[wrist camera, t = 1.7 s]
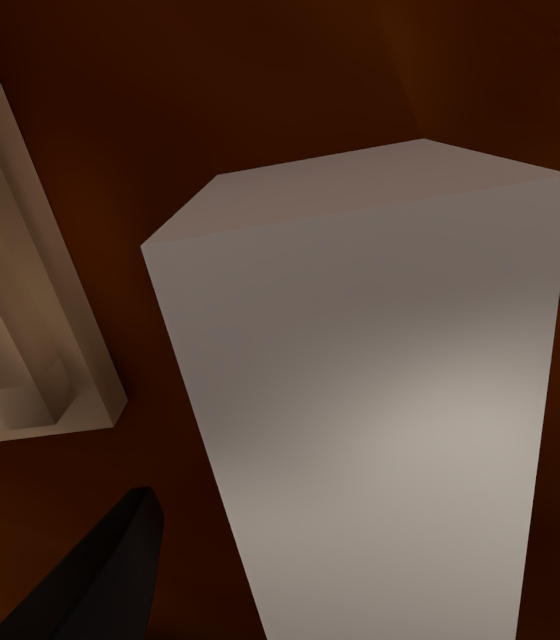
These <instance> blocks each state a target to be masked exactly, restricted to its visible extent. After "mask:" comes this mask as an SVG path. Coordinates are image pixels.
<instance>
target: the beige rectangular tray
mask: <svg viewBox="0 0 560 640" xmlns="http://www.w3.org/2000/svg"><path fill="white" fill-rule="evenodd" d="M127 402H128V399H127V396H126V394H125V391H124V389H123V386H122V384H121V382H120V379H119V377H118V374H117V372H116V369H115V367H114V364H113V362H112V359H111V357H110V354H109V352H108V349H107V347H106V344H105V342H104V339H103V337H102V334H101V332H100V329H99V327H98V324H97V322H96V319H95V317H94V314H93V312H92V309H91V307H90V304H89V302H88V299H87V297H86V294H85V292H84V289H83V287H82V284H81V282H80V279H79V277H78V275H77V272H76V270H75V267H74V265H73V262H72V260H71V257H70V255H69V252H68V250H67V247H66V245H65V242H64V240H63V237H62V235H61V232H60V230H59V227H58V225H57V222H56V220H55V217H54V215H53V212H52V210H51V207H50V205H49V202H48V200H47V197H46V195H45V192H44V190H43V187H42V185H41V182H40V180H39V177H38V175H37V172H36V170H35V168H34V165H33V163H32V160H31V158H30V155H29V153H28V150H27V148H26V145H25V143H24V140H23V138H22V135H21V133H20V130H19V128H18V125H17V123H16V120H15V118H14V115H13V113H12V110H11V108H10V105H9V103H8V100H7V98H6V95H5V93H4V90H3V88H2V85H1V83H0V441H6V440H14V439H22V438H30V437H38V436H46V435H54V434H62V433H71V432H79V431H87V430H95V429H103V428H111V427H114V426H115V424H116V422H117V420H118V419H119V417H120V415H121V413H122V411H123V409H124V408H125V406H126V404H127Z"/></svg>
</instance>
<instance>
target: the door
mask: <svg viewBox="0 0 560 640" xmlns="http://www.w3.org/2000/svg"><path fill="white" fill-rule="evenodd" d="M140 247H141V250H142V253H143V256H144V259H145V263H146V266H147V269H148V272H149V275H150V278H151V281H152V284H153V287H154V290H155V294H156V297H157V300H158V303H159V306H160V309H161V312H162V315H163V318H164V321H165V325H166V328H167V331H168V334H169V337H170V340H171V343H172V346H173V349H174V352H175V356H176V359H177V362H178V365H179V368H180V371H181V374H182V377H183V380H184V383H185V386H186V390H187V393H188V396H189V399H190V402H191V405H192V408H193V411H194V414H195V417H196V421H197V424H198V427H199V430H200V433H201V436H202V439H203V442H204V445H205V448H206V452H207V455H208V458H209V461H210V464H211V467H212V470H213V473H214V476H215V479H216V483H217V486H218V489H219V492H220V495H221V498H222V501H223V504H224V507H225V510H226V514H227V517H228V520H229V523H230V526H231V529H232V532H233V535H234V538H235V541H236V545H237V548H238V551H239V554H240V557H241V560H242V563H243V566H244V569H245V572H246V576H247V579H248V582H249V585H250V588H251V591H252V594H253V597H254V600H255V603H256V607H257V610H258V613H259V616H260V619H261V622H262V625H263V628H264V631H265V634H266V637H267V640H515V637H516V629H517V622H518V614H519V606H520V598H521V590H522V583H523V575H524V567H525V559H526V551H527V544H528V536H529V528H530V520H531V512H532V504H533V497H534V489H535V481H536V473H537V465H538V458H539V450H540V442H541V434H542V426H543V419H544V411H545V403H546V395H547V387H548V380H549V372H550V364H551V356H552V348H553V340H554V333H555V325H556V317H557V309H558V301H559V294H560V171H556V170H552V169H548V168H543V167H539V166H535V165H531V164H527V163H523V162H519V161H514V160H510V159H506V158H502V157H498V156H494V155H490V154H485V153H481V152H477V151H473V150H469V149H465V148H460V147H456V146H452V145H448V144H444V143H440V142H436V141H431V140H427V139H418V140H412V141H407V142H401V143H395V144H390V145H384V146H378V147H373V148H367V149H361V150H356V151H350V152H345V153H339V154H333V155H328V156H322V157H316V158H311V159H305V160H299V161H294V162H288V163H282V164H277V165H271V166H266V167H260V168H254V169H249V170H243V171H237V172H232V173H226V174H220V175H217V176H216V177H214V178H213V179H212V180H211V181H210V182H209V183H208V184H207V185H206V186H205V187H204V188H203V189H201V190H200V191H199V192H198V193H197V194H196V195H195V196H194V197H193V198H192V199H191V200H190V201H188V202H187V203H186V204H185V205H184V206H183V207H182V208H181V209H180V210H179V211H178V212H177V213H176V214H174V215H173V216H172V217H171V218H170V219H169V220H168V221H167V222H166V223H165V224H164V225H163V226H161V227H160V228H159V229H158V230H157V231H156V232H155V233H154V234H153V235H152V236H151V237H150V238H148V239H147V240H146V241H145V242H144V243H143V244H142V245H141V246H140Z"/></svg>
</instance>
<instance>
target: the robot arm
mask: <svg viewBox="0 0 560 640" xmlns="http://www.w3.org/2000/svg"><path fill="white" fill-rule="evenodd" d="M163 526H164V515H163V511H162V508H161V506H160V504H159V501H158V499H157V496H156V494H155V492H154V490H153V488H152V487H149V486H145V487H136V488H132V489H131V490H129V491H128V492H127V493H126V494H125V495H124V496H123V498H122V499H121V500H120V501H119V502H118V503H117V504H116V505H115V506H114V507H113V508H112V509H111V510H110V511H109V512H108V513H107V514H106V515H105V516H104V517H103V518H102V519H101V520H100V521H99V522H98V523H97V524H96V525H95V526H94V527H93V528H92V530H91V531H90V532H89V533H88V534H87V535H86V536H85V537H84V538H83V539H82V540H81V541H80V542H79V543H78V544H77V545H76V546H75V547H74V548H73V549H72V550H71V551H70V552H69V553H68V554H67V555H66V556H65V557H64V558H63V559H62V560H61V561H60V563H59V564H58V565H57V566H56V567H55V568H54V569H53V570H52V571H51V572H50V573H49V574H48V575H47V576H46V577H45V578H44V579H43V580H42V581H41V582H40V583H39V584H38V585H37V586H36V587H35V588H34V589H33V590H32V591H31V592H30V593H29V594H28V596H27V597H26V598H25V599H24V600H23V601H22V602H21V603H20V604H19V605H18V606H17V607H16V608H15V609H14V610H13V611H12V612H11V613H10V614H9V615H8V616H7V617H6V618H5V619H4V620H3V621H2V622H1V623H0V640H143V638H144V634H145V630H146V626H147V622H148V618H149V614H150V609H151V605H152V600H153V595H154V589H155V582H156V575H157V568H158V561H159V554H160V547H161V540H162V533H163Z"/></svg>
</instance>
